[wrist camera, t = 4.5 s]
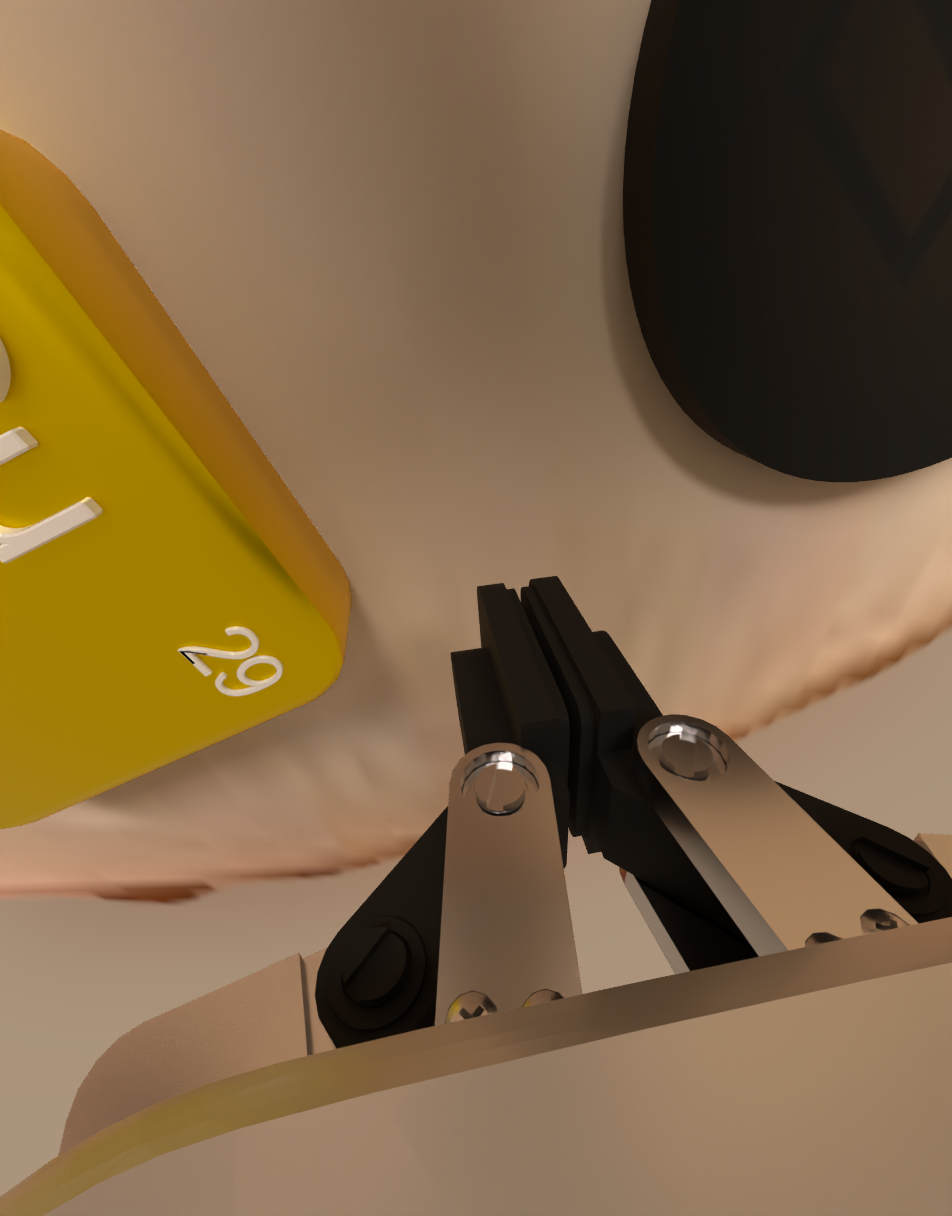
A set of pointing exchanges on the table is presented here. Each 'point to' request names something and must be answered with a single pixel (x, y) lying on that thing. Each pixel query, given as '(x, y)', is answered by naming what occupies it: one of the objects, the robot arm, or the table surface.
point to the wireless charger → (798, 227)
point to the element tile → (131, 525)
